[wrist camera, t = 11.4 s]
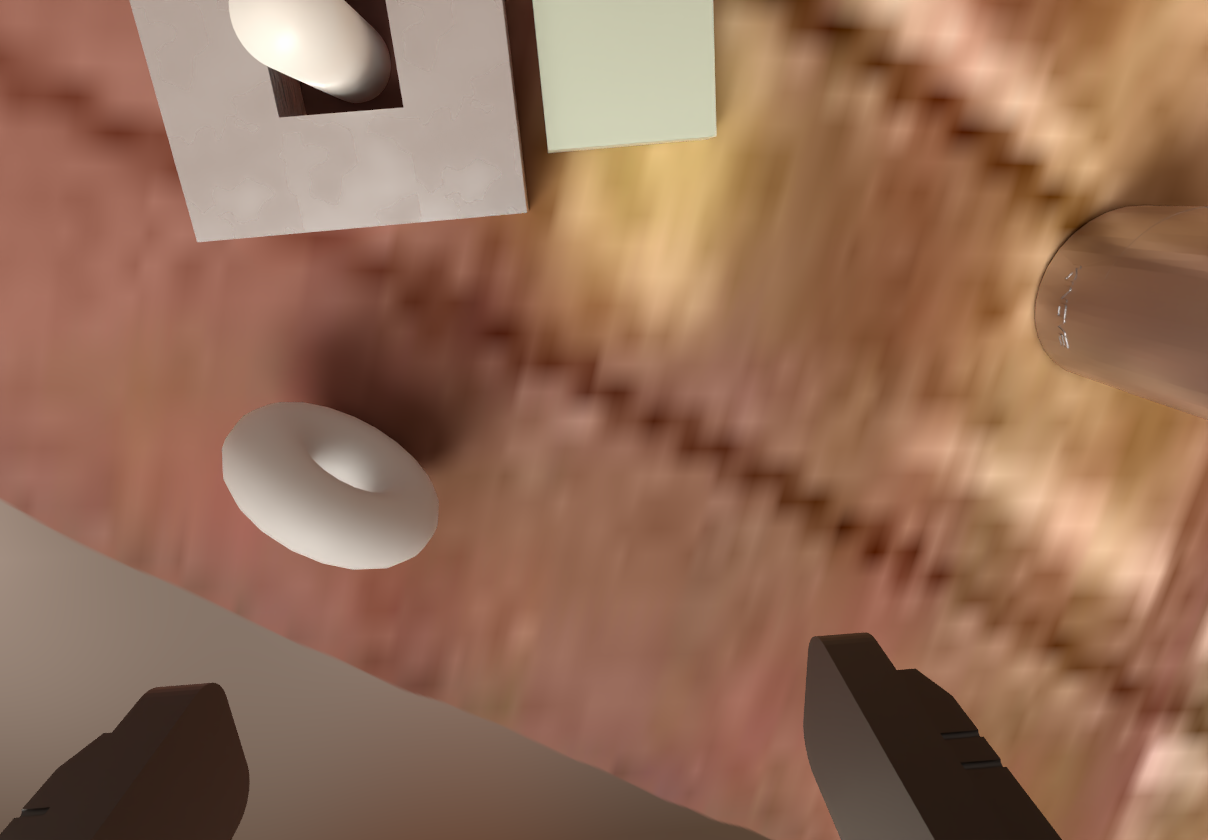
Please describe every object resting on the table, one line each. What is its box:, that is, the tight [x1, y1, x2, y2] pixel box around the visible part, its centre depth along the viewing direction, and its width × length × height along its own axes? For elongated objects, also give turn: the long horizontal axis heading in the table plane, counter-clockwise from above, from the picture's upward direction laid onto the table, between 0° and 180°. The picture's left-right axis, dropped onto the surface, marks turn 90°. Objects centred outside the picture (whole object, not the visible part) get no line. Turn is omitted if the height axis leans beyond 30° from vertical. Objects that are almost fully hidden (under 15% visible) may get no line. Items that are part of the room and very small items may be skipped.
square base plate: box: [532, 0, 716, 153], centre depth 29 cm, size 8×9×2 cm
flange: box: [130, 0, 529, 242], centre depth 27 cm, size 14×14×4 cm
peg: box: [229, 0, 391, 103], centre depth 25 cm, size 3×3×8 cm
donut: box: [222, 402, 438, 569], centre depth 30 cm, size 10×4×10 cm, turn 54°
